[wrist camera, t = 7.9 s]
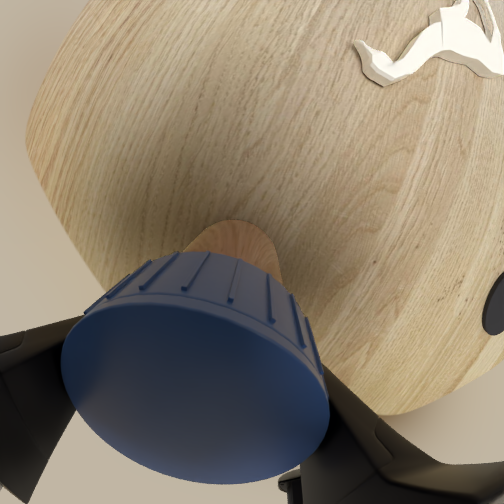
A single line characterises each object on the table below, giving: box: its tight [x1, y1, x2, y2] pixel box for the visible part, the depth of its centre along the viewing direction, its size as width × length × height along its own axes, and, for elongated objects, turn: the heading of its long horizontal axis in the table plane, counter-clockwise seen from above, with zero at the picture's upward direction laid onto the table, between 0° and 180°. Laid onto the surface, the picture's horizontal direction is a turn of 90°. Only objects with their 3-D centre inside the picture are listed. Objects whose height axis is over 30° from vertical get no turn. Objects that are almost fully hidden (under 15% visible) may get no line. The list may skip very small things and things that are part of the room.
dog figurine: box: [353, 0, 504, 87], centre depth 11 cm, size 2×13×20 cm
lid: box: [61, 251, 330, 484], centre depth 7 cm, size 7×7×3 cm
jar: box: [181, 219, 284, 287], centre depth 12 cm, size 6×6×11 cm
